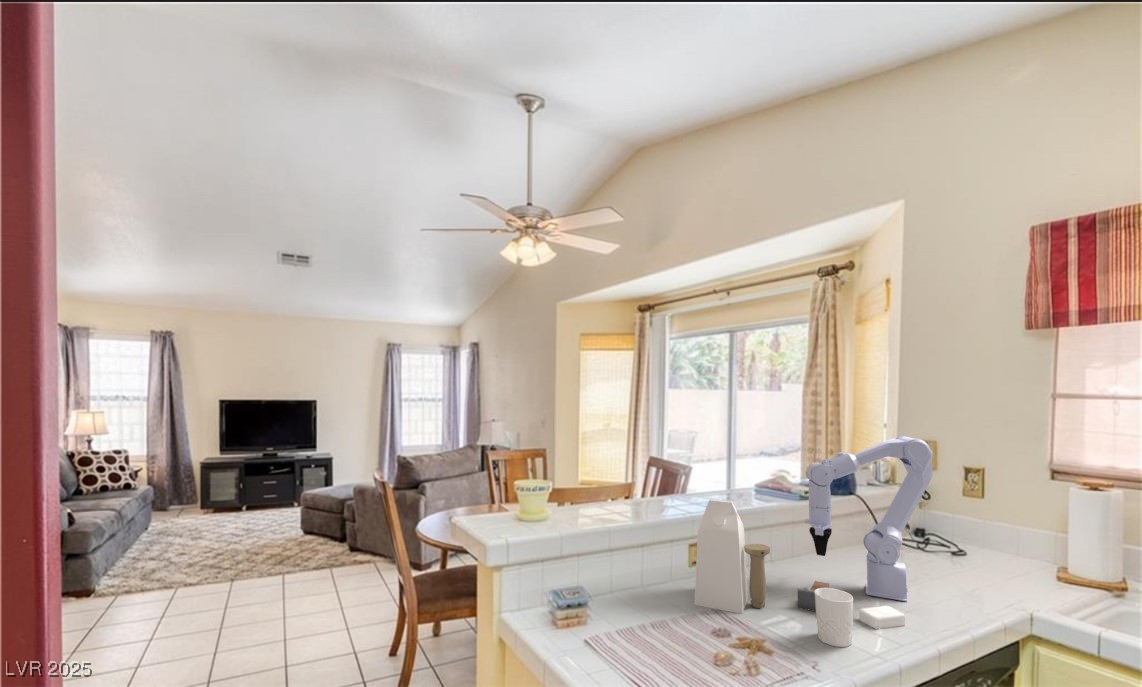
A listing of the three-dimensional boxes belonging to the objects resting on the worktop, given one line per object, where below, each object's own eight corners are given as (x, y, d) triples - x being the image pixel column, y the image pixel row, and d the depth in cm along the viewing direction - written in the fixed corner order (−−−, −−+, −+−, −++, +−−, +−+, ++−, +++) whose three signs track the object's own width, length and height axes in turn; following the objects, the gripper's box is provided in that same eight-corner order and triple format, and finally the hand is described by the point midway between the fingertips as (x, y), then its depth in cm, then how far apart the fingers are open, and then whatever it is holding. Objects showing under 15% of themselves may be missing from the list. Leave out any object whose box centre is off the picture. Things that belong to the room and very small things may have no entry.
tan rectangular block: (814, 594, 145) (814, 580, 145) (829, 597, 143) (829, 583, 143) (809, 607, 136) (809, 593, 136) (825, 610, 134) (824, 596, 134)
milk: (747, 596, 142) (746, 498, 144) (742, 613, 131) (741, 508, 133) (702, 588, 147) (702, 494, 149) (694, 604, 136) (693, 502, 138)
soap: (887, 616, 131) (887, 604, 131) (906, 627, 126) (906, 614, 126) (857, 620, 129) (857, 607, 129) (875, 630, 124) (875, 617, 124)
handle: (774, 609, 134) (773, 549, 135) (751, 611, 133) (751, 550, 134) (763, 601, 139) (762, 543, 140) (741, 603, 137) (741, 544, 138)
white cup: (808, 632, 122) (807, 587, 123) (840, 631, 123) (839, 587, 123) (827, 649, 114) (826, 602, 115) (862, 648, 115) (861, 601, 116)
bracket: (799, 598, 141) (799, 581, 141) (840, 606, 136) (839, 588, 137) (797, 607, 135) (797, 590, 135) (839, 616, 131) (839, 597, 131)
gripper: (806, 499, 158) (807, 545, 157) (802, 509, 145) (803, 560, 144) (832, 502, 155) (833, 549, 154) (831, 513, 142) (832, 564, 141)
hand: (821, 554), depth 149 cm, fingers closed
